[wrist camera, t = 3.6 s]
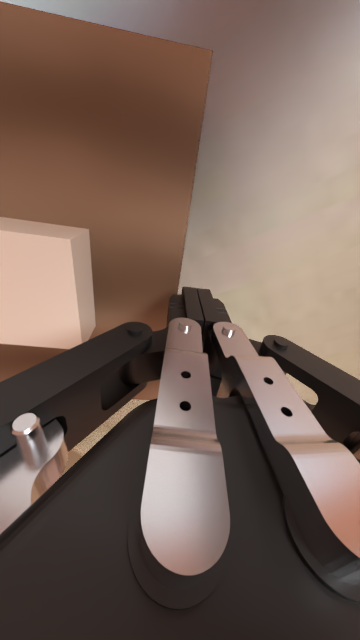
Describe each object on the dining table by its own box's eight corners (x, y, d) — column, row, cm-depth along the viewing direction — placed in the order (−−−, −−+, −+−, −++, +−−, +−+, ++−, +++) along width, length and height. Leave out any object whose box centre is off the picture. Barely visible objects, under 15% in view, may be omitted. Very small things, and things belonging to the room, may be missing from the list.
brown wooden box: (-142, 32, 12) (-390, -89, 6) (196, 101, 13) (212, 50, 8) (-19, 338, 22) (-76, 386, 17) (163, 354, 24) (161, 400, 19)
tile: (-39, 211, 11) (-90, 218, 9) (89, 229, 11) (70, 239, 9) (-3, 316, 14) (-35, 340, 12) (95, 325, 14) (82, 350, 12)
